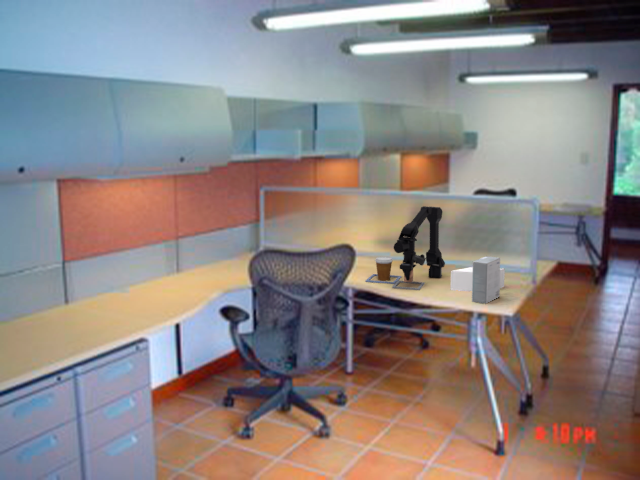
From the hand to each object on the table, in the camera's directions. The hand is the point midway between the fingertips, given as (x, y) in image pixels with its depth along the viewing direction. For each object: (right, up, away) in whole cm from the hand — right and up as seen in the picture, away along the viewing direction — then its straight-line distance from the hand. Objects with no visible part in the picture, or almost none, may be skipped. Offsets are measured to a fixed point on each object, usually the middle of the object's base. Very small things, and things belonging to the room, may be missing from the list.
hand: (408, 279), depth 335 cm
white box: (+35, -5, -6) cm, 36 cm away
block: (0, -1, 0) cm, 1 cm away
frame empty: (0, -4, +1) cm, 4 cm away
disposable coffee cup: (-12, -1, +15) cm, 19 cm away
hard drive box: (+33, -8, -27) cm, 44 cm away
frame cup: (-12, -1, +15) cm, 19 cm away
